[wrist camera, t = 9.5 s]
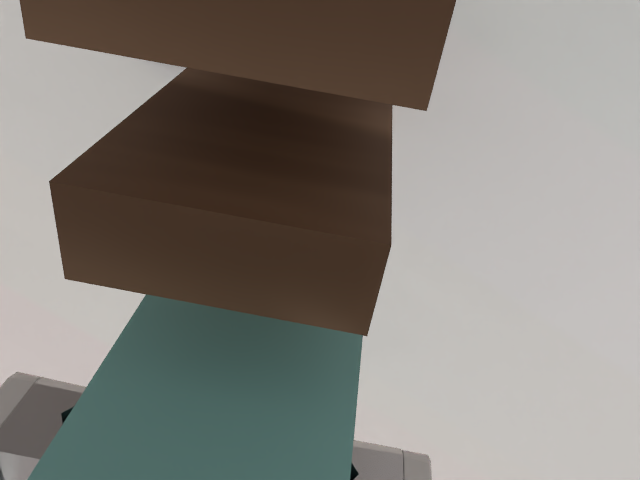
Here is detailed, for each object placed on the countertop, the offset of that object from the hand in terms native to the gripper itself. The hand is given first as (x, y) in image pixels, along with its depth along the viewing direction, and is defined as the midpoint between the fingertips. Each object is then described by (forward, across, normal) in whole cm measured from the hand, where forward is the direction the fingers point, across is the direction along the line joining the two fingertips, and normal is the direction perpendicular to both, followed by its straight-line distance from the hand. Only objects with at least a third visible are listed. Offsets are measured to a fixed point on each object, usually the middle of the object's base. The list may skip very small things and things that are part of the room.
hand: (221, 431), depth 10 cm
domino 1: (+9, 0, +8) cm, 12 cm away
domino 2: (+9, 0, +4) cm, 10 cm away
